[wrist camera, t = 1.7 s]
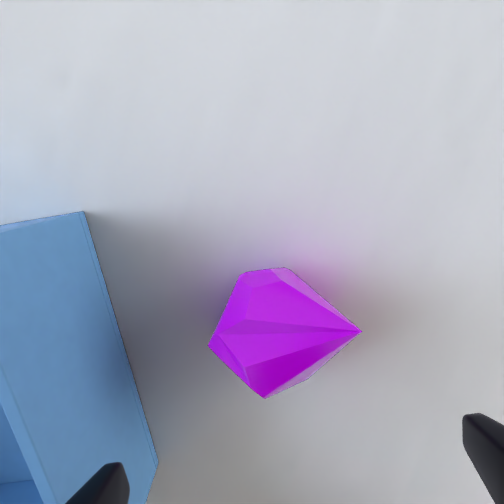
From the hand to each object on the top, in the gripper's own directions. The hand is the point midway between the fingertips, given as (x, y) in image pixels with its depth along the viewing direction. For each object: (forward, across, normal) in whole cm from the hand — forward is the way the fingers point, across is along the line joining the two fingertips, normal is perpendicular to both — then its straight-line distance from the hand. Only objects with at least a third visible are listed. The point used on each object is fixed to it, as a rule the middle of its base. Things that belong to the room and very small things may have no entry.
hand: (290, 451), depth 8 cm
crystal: (+9, 0, 0) cm, 9 cm away
